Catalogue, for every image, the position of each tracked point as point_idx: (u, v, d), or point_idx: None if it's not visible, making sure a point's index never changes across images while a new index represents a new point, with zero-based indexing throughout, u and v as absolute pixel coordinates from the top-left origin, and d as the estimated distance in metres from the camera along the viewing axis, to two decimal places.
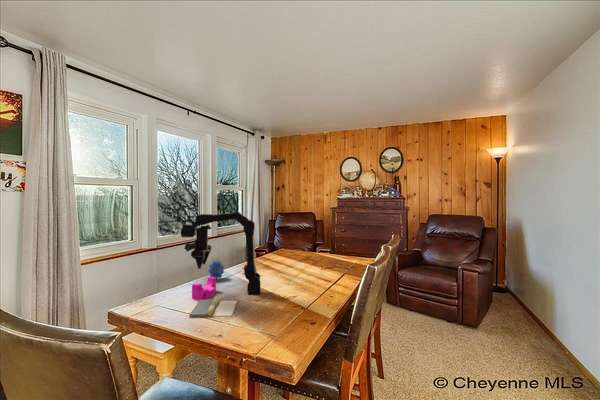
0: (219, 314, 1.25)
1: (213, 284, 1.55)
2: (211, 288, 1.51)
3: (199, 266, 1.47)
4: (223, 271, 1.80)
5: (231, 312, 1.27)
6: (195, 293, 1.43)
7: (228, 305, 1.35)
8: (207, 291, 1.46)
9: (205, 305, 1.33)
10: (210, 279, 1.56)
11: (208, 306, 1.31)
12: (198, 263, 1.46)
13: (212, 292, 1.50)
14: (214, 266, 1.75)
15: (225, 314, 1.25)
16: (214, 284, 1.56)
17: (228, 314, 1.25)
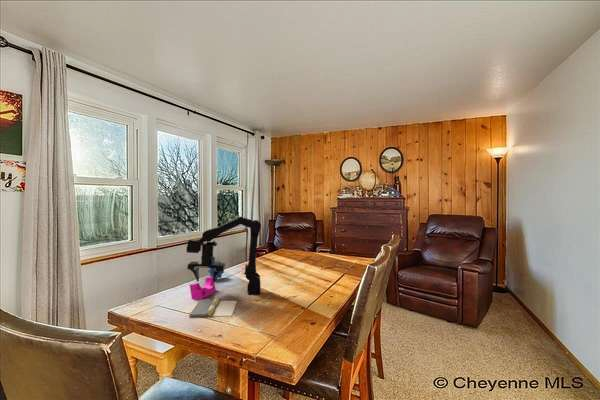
0: (219, 314, 1.25)
1: (212, 283, 1.56)
2: (210, 287, 1.52)
3: None
4: (223, 271, 1.80)
5: (231, 312, 1.27)
6: (194, 293, 1.44)
7: (228, 305, 1.35)
8: (206, 289, 1.47)
9: (205, 305, 1.33)
10: (208, 279, 1.56)
11: (208, 306, 1.31)
12: None
13: (211, 290, 1.51)
14: None
15: (225, 314, 1.25)
16: (213, 283, 1.57)
17: (228, 314, 1.25)
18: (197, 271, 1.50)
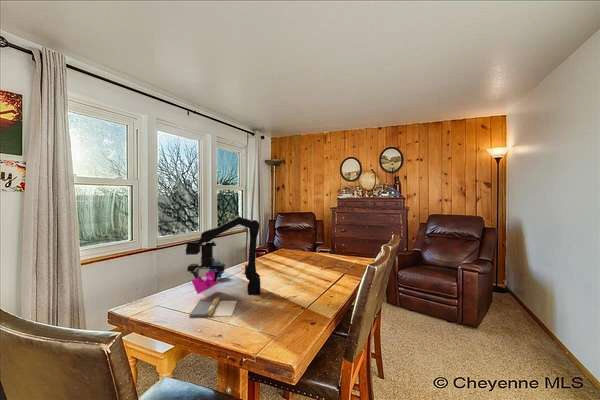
0: (219, 314, 1.25)
1: (213, 276, 1.54)
2: (212, 279, 1.51)
3: None
4: (223, 271, 1.80)
5: (231, 312, 1.27)
6: (198, 286, 1.42)
7: (228, 305, 1.35)
8: (209, 280, 1.45)
9: (205, 305, 1.33)
10: (208, 273, 1.55)
11: (208, 306, 1.31)
12: None
13: (214, 281, 1.49)
14: None
15: (225, 314, 1.25)
16: (214, 276, 1.55)
17: (228, 314, 1.25)
18: (197, 273, 1.49)
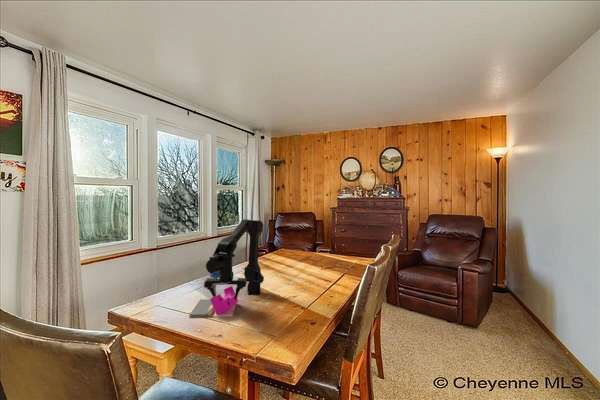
0: (219, 314, 1.25)
1: (232, 293, 1.37)
2: (232, 296, 1.33)
3: None
4: None
5: (231, 312, 1.27)
6: (217, 306, 1.24)
7: None
8: (229, 299, 1.28)
9: (205, 305, 1.33)
10: (227, 289, 1.37)
11: (208, 306, 1.31)
12: None
13: (235, 299, 1.32)
14: None
15: (225, 314, 1.25)
16: (233, 293, 1.37)
17: (228, 314, 1.25)
18: (214, 289, 1.31)
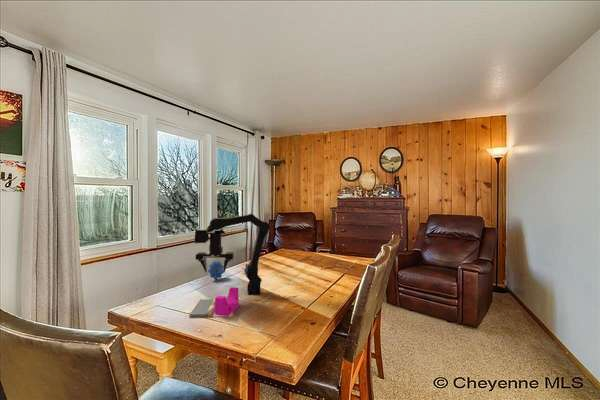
0: None
1: (236, 295, 1.36)
2: (235, 300, 1.33)
3: None
4: (223, 271, 1.81)
5: None
6: (219, 307, 1.24)
7: None
8: (232, 304, 1.27)
9: (205, 305, 1.33)
10: (232, 290, 1.37)
11: (208, 306, 1.31)
12: None
13: (236, 305, 1.32)
14: (214, 266, 1.75)
15: None
16: (237, 295, 1.37)
17: None
18: (205, 261, 1.45)
